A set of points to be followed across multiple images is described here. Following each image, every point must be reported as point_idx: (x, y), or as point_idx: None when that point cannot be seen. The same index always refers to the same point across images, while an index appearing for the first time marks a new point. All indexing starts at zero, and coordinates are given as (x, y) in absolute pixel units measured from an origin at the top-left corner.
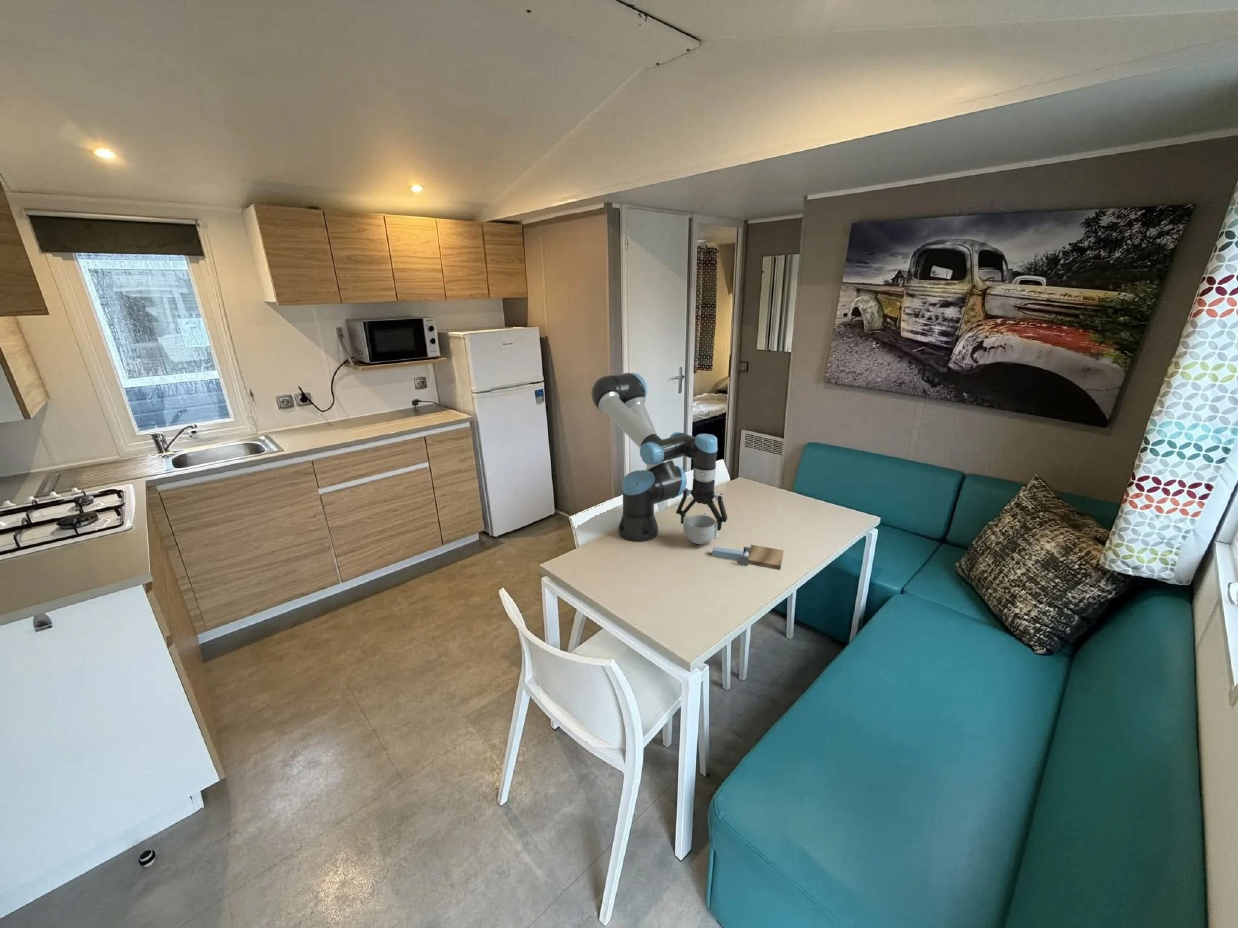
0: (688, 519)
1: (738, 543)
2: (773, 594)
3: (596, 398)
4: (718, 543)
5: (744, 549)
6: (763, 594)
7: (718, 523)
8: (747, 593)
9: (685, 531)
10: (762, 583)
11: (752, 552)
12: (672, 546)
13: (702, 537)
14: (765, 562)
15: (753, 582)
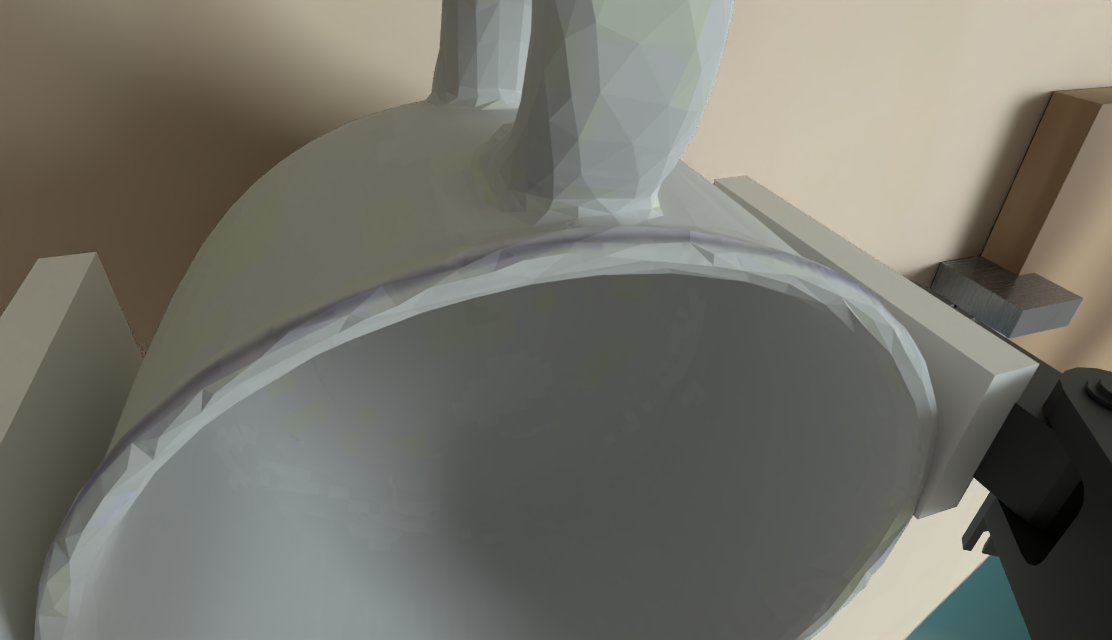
0: (110, 574)
1: (952, 21)
2: (973, 564)
3: None
4: (698, 146)
5: (999, 325)
6: (927, 589)
7: (975, 530)
8: (855, 624)
9: (134, 359)
10: (953, 524)
11: (1044, 276)
12: None
13: (590, 556)
14: None
15: (907, 543)
